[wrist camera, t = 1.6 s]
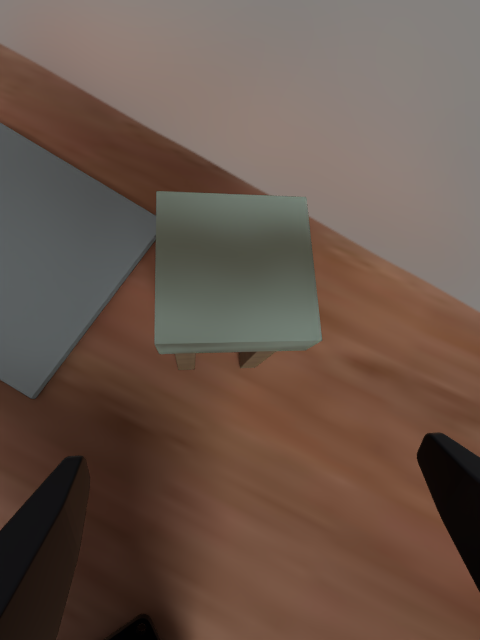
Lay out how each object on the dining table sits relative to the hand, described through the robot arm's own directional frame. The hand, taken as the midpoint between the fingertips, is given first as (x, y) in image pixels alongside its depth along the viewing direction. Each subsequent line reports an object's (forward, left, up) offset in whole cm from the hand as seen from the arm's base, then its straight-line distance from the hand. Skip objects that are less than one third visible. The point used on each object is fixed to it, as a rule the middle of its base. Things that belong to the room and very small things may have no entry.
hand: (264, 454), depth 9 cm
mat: (-6, +17, -14) cm, 22 cm away
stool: (+3, +6, -14) cm, 15 cm away
